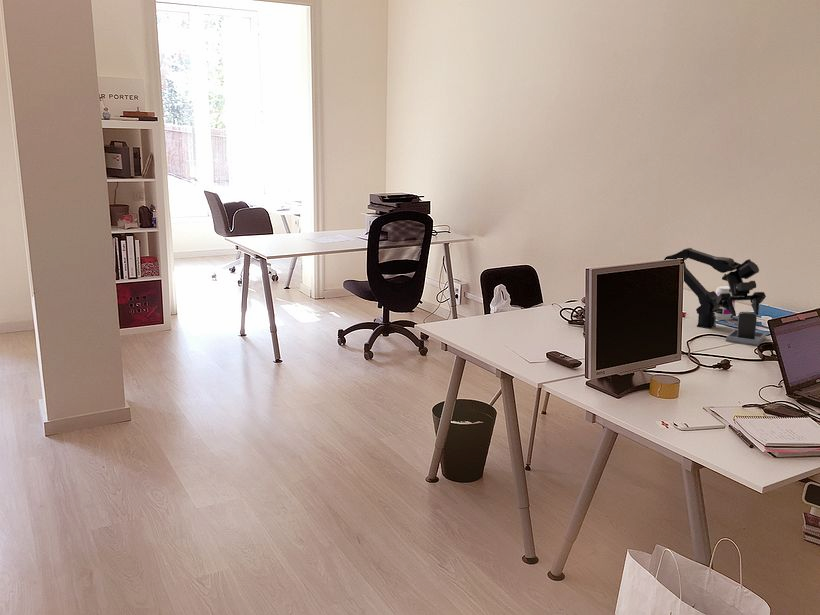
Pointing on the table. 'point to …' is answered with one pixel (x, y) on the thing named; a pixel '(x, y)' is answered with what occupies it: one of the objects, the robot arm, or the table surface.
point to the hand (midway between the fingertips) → (746, 315)
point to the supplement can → (722, 312)
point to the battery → (746, 325)
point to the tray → (733, 338)
